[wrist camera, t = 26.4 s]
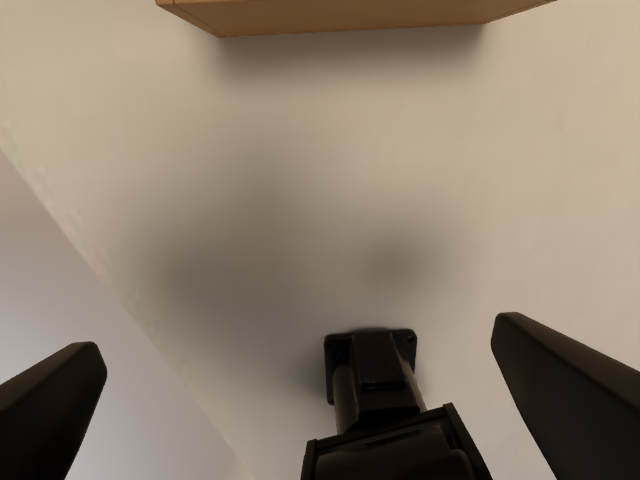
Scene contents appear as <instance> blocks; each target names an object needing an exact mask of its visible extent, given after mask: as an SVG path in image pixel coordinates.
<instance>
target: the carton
mask: <svg viewBox="0 0 640 480" xmlns="http://www.w3.org/2000/svg"><path fill="white" fill-rule="evenodd" d="M155 1H156V4H157V6H159V7H161V8H163V9H165V10H167V11H169V12H171V13H173V14H175V15H176V16H178V17H180V18H182V19H184V20H186V21H188V22H190V23H192V24H193V25H195V26H197V27H199V28H201V29H203V30H205V31H207V32H209V33H210V34H212V35H214V36H216V37H237V36H256V35H275V34H294V33H313V32H333V31H352V30H371V29H390V28H409V27H428V26H447V25H466V24H485V23H489V22H492V21H495V20H498V19H501V18H504V17H507V16H510V15H513V14H516V13H519V12H522V11H526V10H529V9H532V8H535V7H538V6H541V5H544V4H547V3H550V2H553V1H556V0H155Z"/></svg>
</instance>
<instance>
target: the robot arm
mask: <svg viewBox="0 0 640 480" xmlns="http://www.w3.org/2000/svg"><path fill="white" fill-rule="evenodd" d="M410 336H412V337H410ZM408 337H410V338H408ZM329 342H334V343H332V344H330V343H329ZM416 346H417V336H416V334H415V332H414V331H413V330H398V331H384V332H370V333H355V334H341V335H330V336H327V337H326V338H325V339H324V351H325V368H326V385H327V401H328V403H329V404H330V405H334V406H335V416H336V426H337V435H335V436H331V437H328V438H324V439H320V440H317V439H313V440H310V441H307V446H306V452H305V455H304V460H303V466H302V473H301V479H300V480H493V479H492V477H491V475H490V472H489V470H488V468H487V466H486V464H485V462H484V460H483V458H482V456H481V454H480V452H479V451H478V449H477V447H476V445H475V443H474V441H473V440H472V438H471V436H470V434H469V432H468V431H467V429H466V427H465V425H464V423H463V422H462V420H461V418H460V416H459V414H458V412H457V411H456V409H455V407H454V405H453V403H452V402H451V403H447V404H443V407H439V408H436V409H432V410H428V411H427V409H426V406H425V403H424V401H423V398H422V395H421V393H420V390H419V388H418V385H417V382H416V380H415V377H414V369H415V358H416ZM491 349H492V352H493V355H494V357H495V359H496V361H497V364H498V366H499V368H500V370H501V372H502V375H503V377H504V379H505V381H506V384H507V386H508V388H509V390H510V393H511V395H512V397H513V399H514V402H515V404H516V406H517V408H518V410H519V412H520V414H521V416H522V418H523V420H524V422H525V424H526V426H527V428H528V429H529V431H530V433H531V435H532V436H533V438H534V440H535V442H536V443H537V445H538V447H539V449H540V450H541V452H542V454H543V456H544V457H545V459H546V461H547V463H548V464H549V466H550V468H551V470H552V471H553V473H554V475H555V477H556V478H557V480H640V372H639V371H637V370H635V369H633V368H631V367H629V366H627V365H625V364H623V363H621V362H619V361H617V360H615V359H613V358H611V357H609V356H607V355H605V354H603V353H600V352H598V351H596V350H594V349H592V348H590V347H588V346H586V345H584V344H582V343H580V342H578V341H576V340H574V339H572V338H570V337H568V336H566V335H564V334H562V333H559V332H557V331H555V330H553V329H551V328H549V327H547V326H545V325H543V324H541V323H539V322H537V321H535V320H533V319H531V318H529V317H527V316H525V315H523V314H521V313H518V312H505V313H499V314H498V315H497V316H496V318H495V323H494V328H493V333H492V338H491ZM106 379H107V368H106V365H105V363H104V360H103V358H102V356H101V353H100V351H99V349H98V346H97V345H96V344H95V343H94V342H90V341H89V342H76V343H72V344H70V345H68V346H66V347H65V348H63V349H61V350H59V351H58V352H56V353H54V354H53V355H51V356H49V357H48V358H46V359H44V360H42V361H41V362H39V363H37V364H35V365H34V366H32V367H31V368H29V369H27V370H25V371H23V372H22V373H20V374H18V375H16V376H15V377H13V378H11V379H10V380H8V381H6V382H4V383H3V384H1V385H0V480H64V479H65V477H66V475H67V474H68V471H69V469H70V467H71V465H72V463H73V461H74V459H75V457H76V455H77V452H78V451H79V448H80V446H81V444H82V441H83V439H84V436H85V434H86V431H87V429H88V426H89V423H90V421H91V418H92V416H93V413H94V410H95V408H96V405H97V403H98V400H99V398H100V395H101V392H102V390H103V387H104V385H105V382H106Z"/></svg>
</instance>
